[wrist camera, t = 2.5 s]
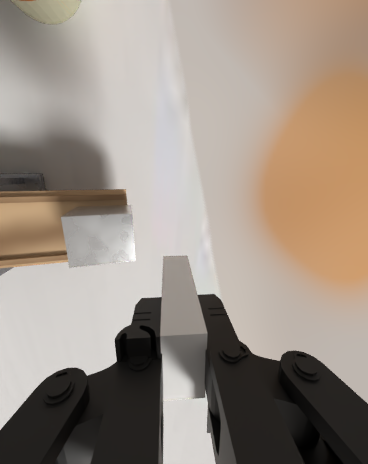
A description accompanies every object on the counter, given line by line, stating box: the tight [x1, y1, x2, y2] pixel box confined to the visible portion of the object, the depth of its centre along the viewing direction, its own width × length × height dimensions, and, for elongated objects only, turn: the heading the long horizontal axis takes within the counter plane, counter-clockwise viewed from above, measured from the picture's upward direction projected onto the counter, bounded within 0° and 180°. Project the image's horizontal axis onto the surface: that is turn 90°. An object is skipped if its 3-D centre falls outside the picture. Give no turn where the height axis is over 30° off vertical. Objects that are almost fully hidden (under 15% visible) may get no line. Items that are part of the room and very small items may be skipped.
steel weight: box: [61, 205, 135, 268], centre depth 22 cm, size 5×6×6 cm
